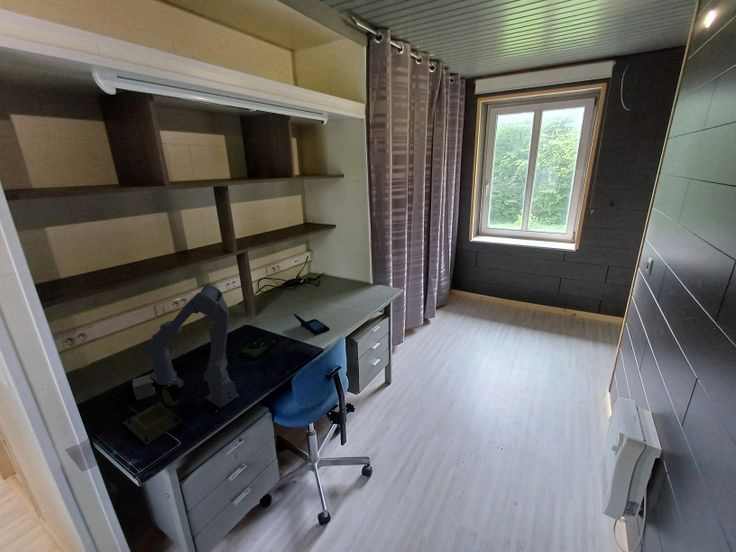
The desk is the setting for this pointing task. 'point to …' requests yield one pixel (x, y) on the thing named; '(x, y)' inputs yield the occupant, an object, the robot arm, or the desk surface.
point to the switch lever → (168, 397)
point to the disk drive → (259, 348)
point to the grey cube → (143, 387)
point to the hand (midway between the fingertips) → (171, 398)
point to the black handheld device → (313, 325)
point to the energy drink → (211, 331)
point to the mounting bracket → (152, 422)
